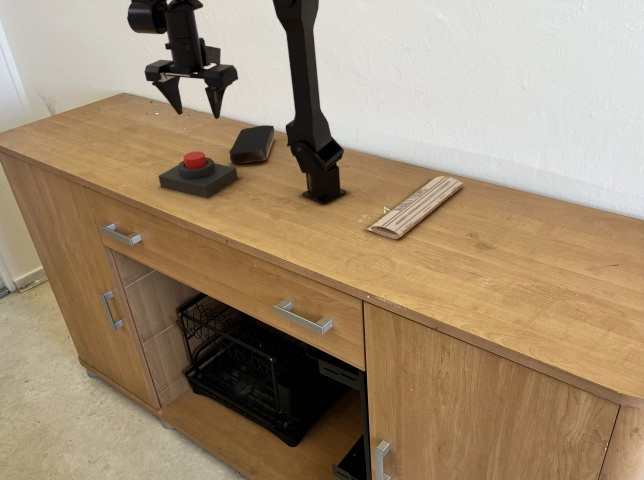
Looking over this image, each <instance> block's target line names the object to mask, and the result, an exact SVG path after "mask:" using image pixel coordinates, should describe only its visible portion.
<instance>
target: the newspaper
mask: <svg viewBox="0 0 644 480" xmlns="http://www.w3.org/2000/svg"><path fill="white" fill-rule="evenodd" d="M463 186H464V182H462V181H461V180H459V179H456V178H454V177H451V176H443V175H441V176H436V177H435V178H433V179H432V180H430V181H429V182H427V183H426V184H425V185H424V186H422V187H421V188H420V189H418V190H417V191H415V193H413V194H411V195H410V196H409V197H408V198H406V199H405V200H404V201H402V202H401V203H399V204H398V205H397V206H396V207H394V208H392V210H390V211H388V213H387V214H385V215H384V216H382V217H381V218H380V219H379V220H377V221H376V222H375V223H373V224H372V225H371V226H369V227H368V228H366V231H370V232H372V233H375V234H377V235H380V236H382V237H386V238H389V239H394V240H398V239H400V238H402V237H403V236H404V235H405V234H407V232H409V231H410V230H411V229H412V228H414V227H415V226H416V225H417V224H419V223H420V222H421V221H423V219H425V217H427V216H428V215H430V214H431V213H432V212H433V211H435V209H437V208H439V206H440V205H442V204H443V203H444V202H445V201H446V200H448V199H449V198H450V197H451V196H452V195H454V194H455V193H456V192H458V191H459V190H460V189H461V188H463Z"/></svg>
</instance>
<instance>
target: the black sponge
mask: <svg viewBox="0 0 644 480" xmlns="http://www.w3.org/2000/svg"><path fill="white" fill-rule="evenodd" d="M274 140H275V127H274V125H266V124H265V125H263V124H262V125H256V126H253V127H245V128H243V129H241V130H240V131H239V133H238V135H237V137H236V139H235V141H234V143H233V145H232V147H231V149H230V150H229V159H230V161H231V163H232V164H234V165H238V164H246V163H253V162H261V161H265V160H267V159H268V156H269V153H270V151H271V148H272V145H273V142H274Z"/></svg>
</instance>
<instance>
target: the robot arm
mask: <svg viewBox="0 0 644 480" xmlns="http://www.w3.org/2000/svg"><path fill="white" fill-rule="evenodd" d="M271 1H272V5H273V8H274V12H275V15H276V16H275V17H276V18H277V20H278V21H279V23H280V25H281V27H282V28H283V31H284V32H285V36H286V44H287V53H288V63H289V71H290V79H291V80H290V81H291V88H292V97H293V107H294V117H293V120H290V122H288V123H287V124H286V125H285V133H286V136H287V143H286V147H289V150H290V152H291V153H290V154H291V155H292V156H293V158H294V157H295V160H296V163H297V164H298V167H299V169H300V171H301V173H302V174H305V180H306V189H307V190H306V191H303V192H302V196H303V197H305V198H307V199H309V200H312V201H314V202H316V203H319V204H322V205H326V204H328V203H330V202H332V201H334V200H337V199H338V198H340V197H342V196H344V195H346V194H347V190H346V189H343V188H341V175H340V174H341V173H340V166H338V162H339V161H341V160H342V158H343V157H344V153H345V149H344V147H342V146H341V145H340V144H339V142H338V141H337V140H336V139H335V138H334V137H333V135H332V133H331V128H330V125H329V121H328V119H327V117H326V116H325V115H324V112H323V111H322V108H321V99H320V88H319V77H318V66H317V55H316V54H317V53H316V45H315V43H316V42H315V32H314V30H315V29H314V28H315V23H316V19H317V16H318V12H319V8H320V7H319V6H320V0H271ZM202 8H204V3H202V2H201V1H200V0H170V2H169V3H168V0H130V4H129V5H128V8H127V16H126V19H127V23H128V26H129V28H130V29H131V31H133V32H134V33H137V34H146V35H147V34H148V35H164V34H167V41H168V42H166V43H164V48H165V51H166V50H167V51H170V54H171V59H172V60H171V59H169V60H168V59H159V60H156V61H154V62H151V63H149V64H147V65H145V68H144V71H143V72H144V76H145V80H146V82H151V85H152V86H153V87H156V89H157V90H158V91H159V92H160V93H161V94H162V96H163V97H164V98H165V99H166V100H167V102H168V103H169V104H170V106H171V107H172V109H173V110H174V111H175V112H176V114H177V115H178V116H180V115H183V113H184V111H183V102H182V98H181V93H180V88H179V85H180V79H181V78H187V79H199V80H203V82H204V84H206V87H204V91H205V94H206V97H207V101H208V103H209V107H210V110H211V114H212V116H213V118H214V119H215V120H218V119H220V117H221V111H222V106H223V101H224V100H223V99H224V96H225V92H226V91H227V88H228V87H230V86H231V85H233V83H234V82H236V81H238V80H239V75H238V70H237V67H236V66H235V65H234V64H225V63H221V56H222V55H221V52H222V49H221V48H220V47H216V46H211V45H206V40H205V39H204V37H200V35H199V30H198V25H197V19H196V14H195V13H196V12H195V11H196V10H197V11H198V10H200V9H202ZM212 64H214V65H213V66H211V65H212ZM209 66H210V67H209ZM206 67H209V68H206Z"/></svg>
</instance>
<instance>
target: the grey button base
mask: <svg viewBox="0 0 644 480" xmlns="http://www.w3.org/2000/svg"><path fill="white" fill-rule="evenodd" d="M205 158H206V163H207V164H206V165H205V166H203V167H201V168H197V169H189V168H186V167H185V162H184V160H182V161H180V162H179V163H178V164H177V165H175V166H174V167H171V168H170V169H168V170H166V171H165V172H163V173H161V174H159V175H158V180H159V184H160V188H162V189H165V190H170V191H175V192H179V193H184V194H188V195H192V196H196V197H199V198H200V197H201V198H205V199H210V198H211V197H213V196H214V195H215V194H217V193H218V192H220V191H221V190H223V189H225V188H227V187H228V186H230V185H231V184H233V183H235V182H236V181H237V180H239V177H238V176H239V175H238V170H237V167H236V166H235V167H234V166H229V165H224V164H220V163H215V161H214V160H213V159H212V158H211V157H207V156H205Z"/></svg>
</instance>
